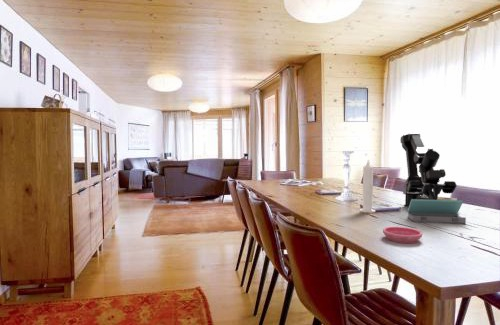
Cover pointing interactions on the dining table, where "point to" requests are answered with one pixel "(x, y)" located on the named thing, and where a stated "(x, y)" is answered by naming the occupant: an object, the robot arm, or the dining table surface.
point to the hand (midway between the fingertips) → (435, 202)
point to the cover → (435, 206)
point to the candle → (367, 189)
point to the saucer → (402, 234)
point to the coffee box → (437, 198)
